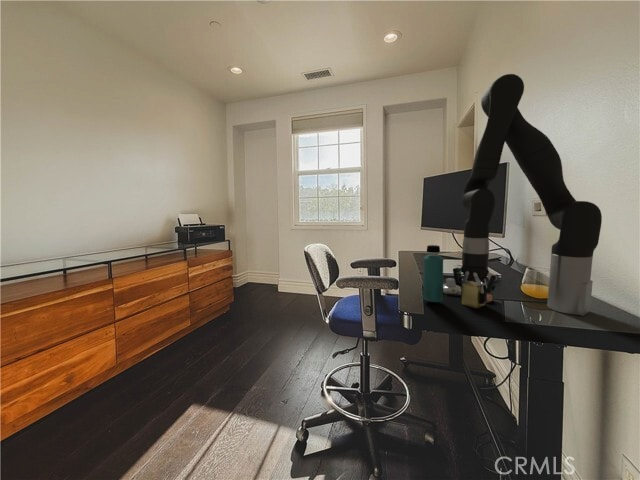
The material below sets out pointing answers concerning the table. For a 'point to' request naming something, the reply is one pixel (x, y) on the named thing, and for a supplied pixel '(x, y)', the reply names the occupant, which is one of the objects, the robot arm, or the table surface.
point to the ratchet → (457, 289)
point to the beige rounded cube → (471, 295)
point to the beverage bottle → (433, 275)
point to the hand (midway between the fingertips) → (473, 301)
